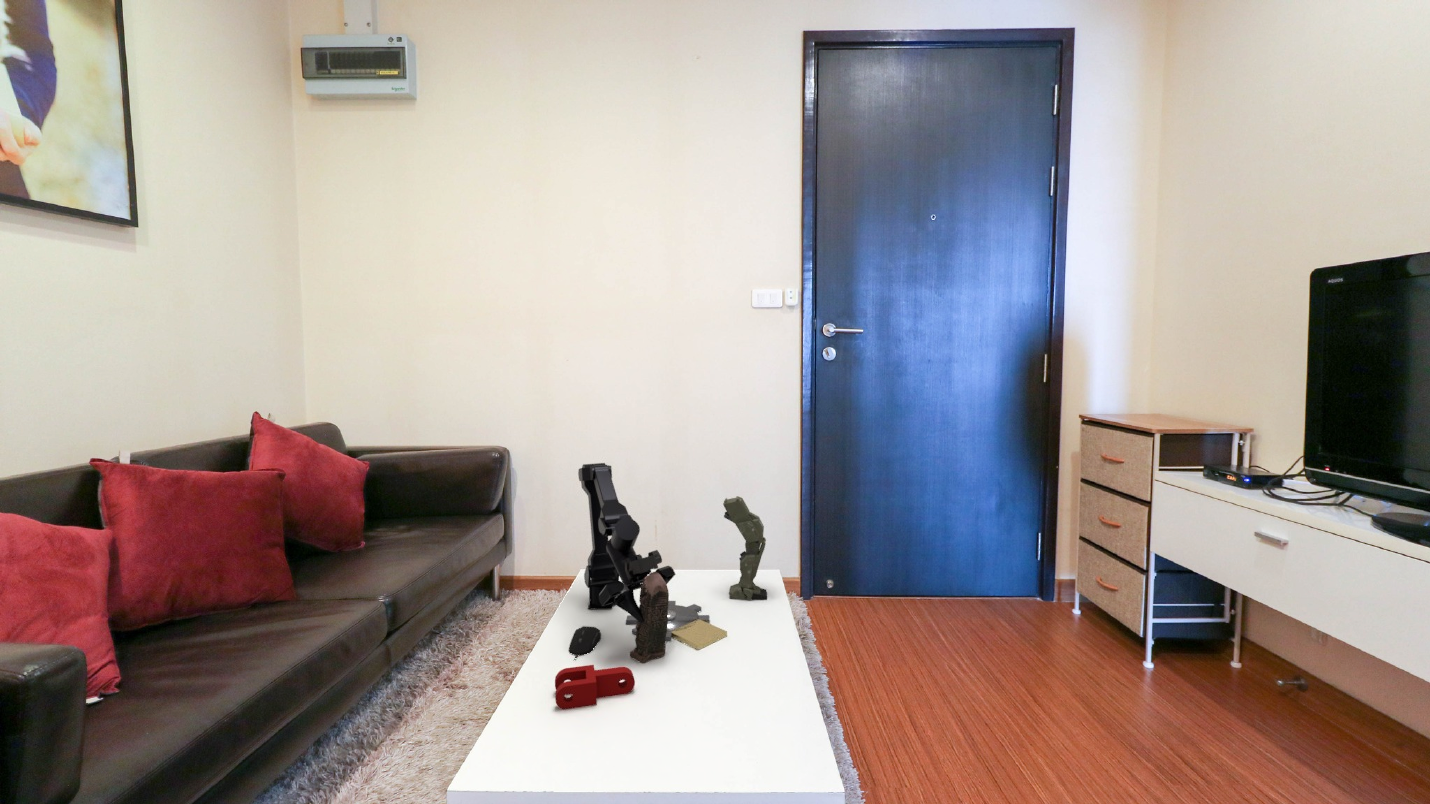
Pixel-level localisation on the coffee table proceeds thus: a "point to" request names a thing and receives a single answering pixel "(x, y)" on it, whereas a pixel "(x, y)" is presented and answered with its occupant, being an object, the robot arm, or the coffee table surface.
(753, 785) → the coffee table surface
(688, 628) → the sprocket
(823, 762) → the coffee table surface
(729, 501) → the mechanical leg
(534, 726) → the coffee table surface
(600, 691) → the mechanical linkage
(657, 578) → the statue
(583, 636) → the gaming mouse
